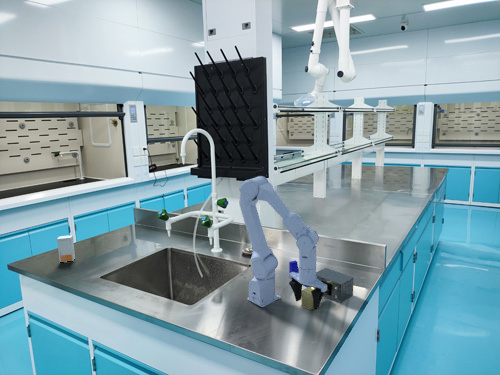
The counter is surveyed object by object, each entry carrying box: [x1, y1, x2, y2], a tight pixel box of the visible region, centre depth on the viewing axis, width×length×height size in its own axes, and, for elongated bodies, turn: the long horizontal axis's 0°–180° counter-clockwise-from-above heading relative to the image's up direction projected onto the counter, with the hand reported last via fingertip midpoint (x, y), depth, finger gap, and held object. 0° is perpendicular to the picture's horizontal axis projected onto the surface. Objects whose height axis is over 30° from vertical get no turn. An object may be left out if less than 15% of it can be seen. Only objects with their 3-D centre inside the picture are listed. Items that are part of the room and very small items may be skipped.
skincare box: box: [56, 234, 76, 263], centre depth 164 cm, size 6×4×12 cm
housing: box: [316, 267, 355, 304], centre depth 127 cm, size 9×12×7 cm
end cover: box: [301, 286, 328, 311], centre depth 120 cm, size 10×6×6 cm, turn 133°
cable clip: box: [288, 260, 309, 288], centre depth 139 cm, size 12×4×6 cm, turn 24°
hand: (307, 304), depth 117 cm, fingers open, 7 cm apart
